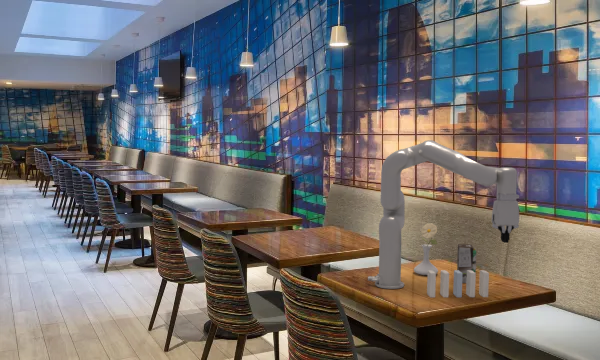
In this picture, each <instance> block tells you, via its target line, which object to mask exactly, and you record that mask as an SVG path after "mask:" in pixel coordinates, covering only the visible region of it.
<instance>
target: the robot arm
mask: <svg viewBox="0 0 600 360" xmlns="http://www.w3.org/2000/svg"><path fill="white" fill-rule="evenodd" d="M426 162H430V163H431V164H434V165H436V166H439V167H441V168H443V169H445V170H447V171H449V172H452V173H453V174H457V175H459V176H462V177H464V178H466V179H468V180H469V181H473V182H474V183H477V184H479V185H481V186H485V187H491V186H492V185H493V186H494V184H495V185H496V200H494V201H493V206H492V211H491V224H492V225H491V227H492V228H493V229H498V231H499V232H500V240H501V242H502V243H507V244H508V243H509V241H510V233H511V232H513V230H514V229H518V228H519V227H520V225H519V223H520V210H519V209H520V208H519V202H518V201H517V199H519V198H520V195H519V194H517V181H518V180H517V179H518V178H517V176H518V175H517V173H518V172H517V169H516V168H514V167H495V166H487V165H484V164H482V163H479V162H477V161H475V160H472V159H471V158H469V157H467V156H466V155H464V154H463V153H461V152H459V151H456V150H454V149H452V148H450V147H447V146H445V145H443V144H441V143H439V142H436V141H435V140H432V139H429V140H425V141H423V142H420V143H418V144H415V145H411V146H409V147H405V148H402V149H398V150H396V151H393V152H392V153H390V154H388V156H387V157H386V158H385V159H384V161H383V162H382V165H381V174H380V199H379V201H380V204H381V207H382V209H383V210H382V211H383V216H382V218H381V219H380V221H379V224H378V239H379V242H378V243H379V246H378V247H379V248H378V273H376V275H374V276H372V275H371V276H370V275H368V276H367V281H369V282H374V286H376V287H378V288H381V289H386V290H388V289H390V290H397V289H401V288H402V289H403V288H404V287H405V282H403V281H401V278H402V230H403V228H404V225H405V217H406V216H405V214H406V213H405V212H406V211H405V194H404V192H403V191H402V187H401V184H402V176H401V175H402V171H403V170H406V169H408V168H411V167H414V166H417V165H420V164H424V163H426Z"/></svg>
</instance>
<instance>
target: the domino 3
mask: <svg viewBox="0 0 600 360" xmlns="http://www.w3.org/2000/svg"><path fill="white" fill-rule="evenodd" d="M452 293H453V295H454V296H455V297H456V298H462V296H463V294H462V293H463V283H462V272H460V271H459V270H457V269H455V270H453V292H452Z"/></svg>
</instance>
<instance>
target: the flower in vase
mask: <svg viewBox="0 0 600 360" xmlns="http://www.w3.org/2000/svg"><path fill="white" fill-rule="evenodd" d="M420 232H421V239H422V240H423V241H425V242H426V243H427V244H421V247H422V250H423V260H422V261H421V262H420V263H419V264H417V265H416V266H415V267H414V268H413V272H414V273H416V274H418V275H422V276H428V270H433V271H434V272H435V273H436V275H437V274H438V272H439V270H438V268H437V267H436V266H435V265H434V264H433V263H431V261H430V260H429V259H430V257H429V256H430V252H431V251H430V250H431V248H432V247H433V245H438V242H437V240H436V239H435V238H434V237H435V235H436V234H437V232H438V227H437V225H436V224H434V223H432V222H430V223H429V222H427V223H426V224H424V225H423V226H422V228H421V230H420ZM433 238H434V239H433ZM427 239H430V240H429V242H428V240H427ZM430 243H431V244H432V245H431V244H430Z"/></svg>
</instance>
